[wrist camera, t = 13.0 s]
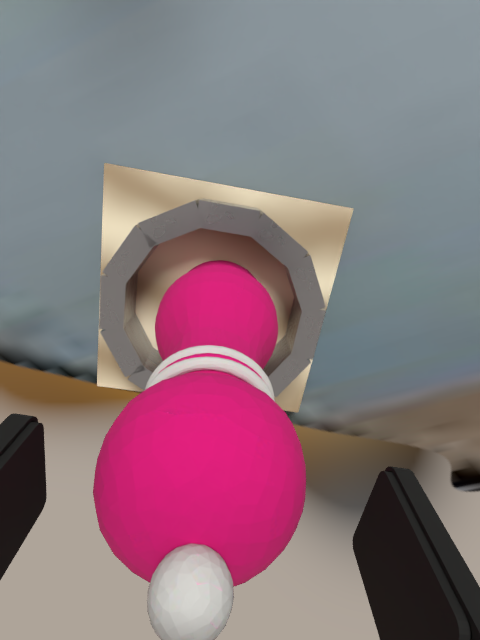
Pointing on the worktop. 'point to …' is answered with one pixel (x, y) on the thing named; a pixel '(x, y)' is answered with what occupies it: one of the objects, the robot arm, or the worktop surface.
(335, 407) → the worktop surface
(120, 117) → the worktop surface
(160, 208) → the birch board
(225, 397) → the pepper mill
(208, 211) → the steel ring collar
